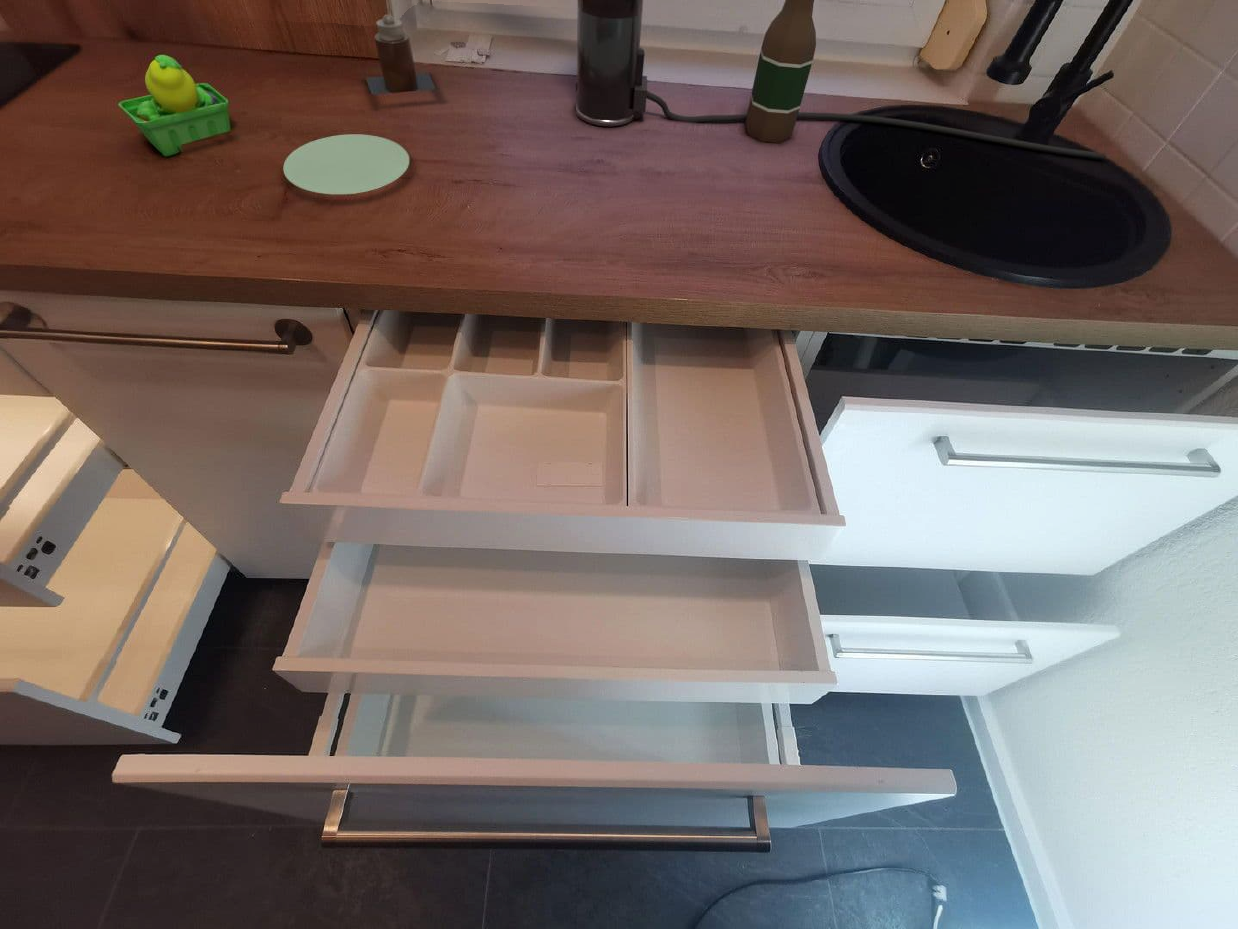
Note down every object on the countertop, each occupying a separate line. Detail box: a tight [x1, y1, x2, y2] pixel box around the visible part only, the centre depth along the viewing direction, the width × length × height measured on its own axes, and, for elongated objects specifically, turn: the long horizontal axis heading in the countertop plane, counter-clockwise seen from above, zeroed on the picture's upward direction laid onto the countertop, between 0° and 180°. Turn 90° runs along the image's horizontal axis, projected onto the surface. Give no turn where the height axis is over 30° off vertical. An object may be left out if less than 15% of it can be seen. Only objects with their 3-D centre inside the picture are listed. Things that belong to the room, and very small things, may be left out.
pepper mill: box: [374, 13, 418, 94], centre depth 94 cm, size 5×5×10 cm
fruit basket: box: [118, 54, 232, 157], centre depth 81 cm, size 11×9×11 cm
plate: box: [282, 133, 410, 195], centre depth 83 cm, size 16×16×1 cm
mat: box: [365, 72, 437, 96], centre depth 98 cm, size 10×10×1 cm
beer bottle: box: [745, 0, 817, 144], centre depth 88 cm, size 8×8×24 cm
